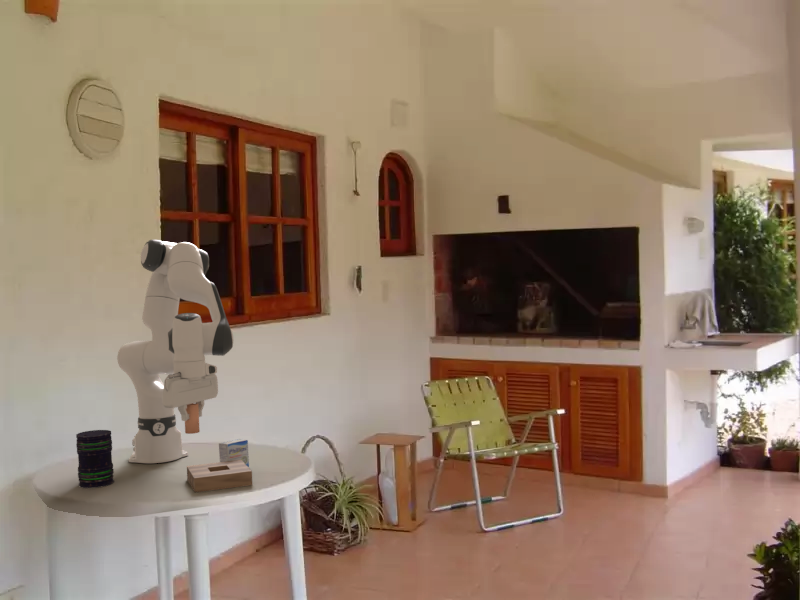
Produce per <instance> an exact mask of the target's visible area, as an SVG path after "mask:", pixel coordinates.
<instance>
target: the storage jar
mask: <svg viewBox="0 0 800 600" xmlns="http://www.w3.org/2000/svg"><path fill="white" fill-rule="evenodd" d="M75 436H76V454H77V455H78V457H77V458H78V467H77V472H78V473H77V478H78V481H79V483H78V487H79V486H80V487H79V488H82V487H83V489H93V488H95V489H97V488H102V487H101V486H103V487H107V486H110V485H112V484H113V483H114V482H115V479H114V472H115V471H114V463H113V460H112V459H113V457H112V456H113V455H112V451H113V441H112V440H113V439H112V431H111V430H109V429H94V430H86V431H82V432H78V433H76V434H75ZM106 485H107V486H106Z"/></svg>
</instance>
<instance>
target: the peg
mask: <svg viewBox="0 0 800 600" xmlns="http://www.w3.org/2000/svg"><path fill="white" fill-rule="evenodd" d="M186 411H187V414H190V419H189V420H187V421H184V432H185V433H184V434H187V435H188V434H190V435H191V434H193V435H194V434H199V433H200V432H201V430H200V417H199V406H198V404H197V403H192V404H188V405H187V409H186Z"/></svg>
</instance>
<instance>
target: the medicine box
mask: <svg viewBox="0 0 800 600" xmlns="http://www.w3.org/2000/svg"><path fill="white" fill-rule="evenodd" d="M218 450H219V451H218V452H219V462H225V461H234V460H242V461H243V462H244V463H245V464H246V465H247V466H248V468H249V467H250V463H249V462H250V459H249V440H248V439H244V438H238V439H234V440H228V441H224V442H220V443H218Z"/></svg>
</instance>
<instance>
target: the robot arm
mask: <svg viewBox="0 0 800 600" xmlns="http://www.w3.org/2000/svg"><path fill="white" fill-rule="evenodd" d="M140 263H141V266H142V268H143V269H145V270H147V271H149V272H152V274H151V275H150V278H149V282H148V285H147V286H146V287H147V288H146V293H145V297H144V298H145V299H144V303H143V311H142V319H141V320H142V322H143V324H144V325H145V326H146V327H147V328H148V329H149V330H150V331H151V334H152V337H151V340H134V341H131V342H127V343H123V345H121V346H120V348H119V349H118V352H117V356H116V357H117V358H116V359H117V364H118V366H119V368H120V369H121V370H122V371H123V372H125V373H126V375H127V376H128V377H129V379H130V380H131V382H132V384H133V386H134V389H135V392H136V397H137V404H138V405H137V406H138V407H137V408H138V418H137V428H138V431H137V433H135V435H134V437H133V439H132V441H131V443H132V444H131V445H132V448H133V449H132V450H133V452H132V454H131V455H130V456H129V458H128V462H129V463H139V464H157V463H158V464H160V463H167V462H172V461H176V460H179V459H181V458H184V457H187V456H189V452H188V451H186V450H184V449H183V441H182V440H183V439H182V431H180V430H179V429H178V428H177V427H176V426H177V419H176V414H175V410H174V409H176V408H177V410H178V412H179V413H180V416H181V417H180V418H181V421H182V422H185V421H187V420H189V419H190V414H187V411H186V409H187V405H188V404H192V403H197V404H198V406H199V418H201V417H203V409H204V407H205V401H208V400H212V399H215V398H217V396H218V394H219V393H218V392H219V382H218V377H217V375H216V374H217V373H218V367H217V365H214V364H209V363H208V362H206V356H221V357H222V356H223V357H224V356H225V355H226V354H228V353H229V352H230V351H231V350H232V348H233V346H234V334H233V331H232V329H231V327H230V324H229V321H228V318H227V316H226V312H225V310H224V306H223V303H222V299H221V297H220V294H219V291H218V288H217V286H216V285H215V283H214V282H212V281H210V280H209V279H208V278H207V277H206V275H207V272H208V271H209V267H210V257H209V254H208V252H207V251H205V250H203V249H200V248H198V247H197V245H195V244H193V243H191V242H187V241H183V242H181V241H180V242H178V243H177V242H170V241H164V240H163V241H162V240H161V239H150V240H148V241H146V242H145V244H144V246H143V247H142V249H141V252H140ZM180 300H184V301H187V302H192V303H197V304H199V305H202V306H204V307H206V308H207V309H208V311H209V314H210V318H211V320H212V322H203V321H202V318H201V315H199V313H198V314H197V313H194V312H186V313H185V312H184V313H179V307H180V306H179V305H180ZM160 375H167V376H166V377H165V379H164V382H163V381H162V379H161V377H160Z"/></svg>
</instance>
